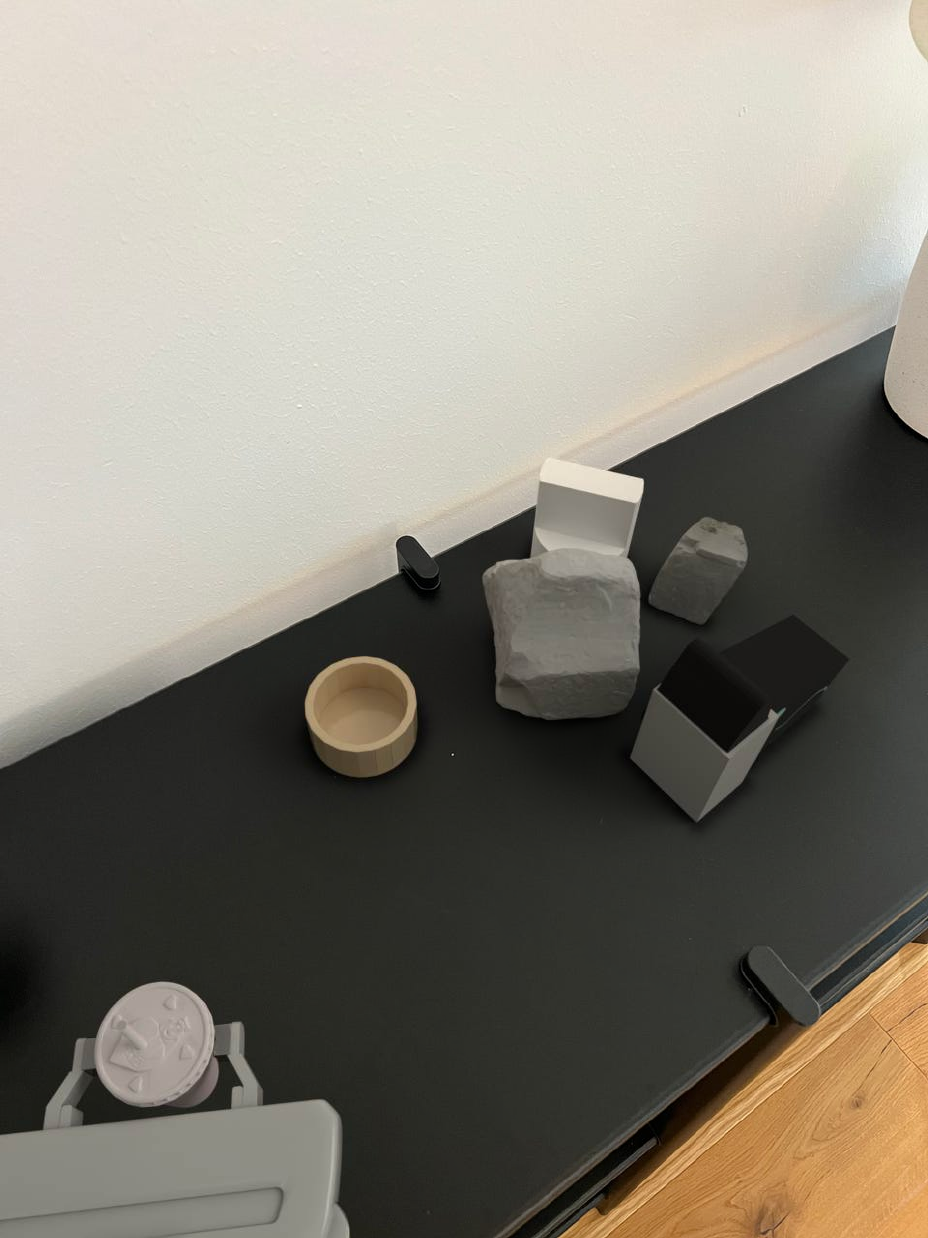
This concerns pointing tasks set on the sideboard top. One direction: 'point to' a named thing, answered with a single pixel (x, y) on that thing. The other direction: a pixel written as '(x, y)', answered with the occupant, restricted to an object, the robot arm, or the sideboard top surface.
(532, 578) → the stone
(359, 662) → the tan hollow round container
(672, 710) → the decorative object
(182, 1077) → the smoothie
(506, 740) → the sideboard top surface
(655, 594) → the mineral specimen
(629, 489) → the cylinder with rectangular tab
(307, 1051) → the sideboard top surface
